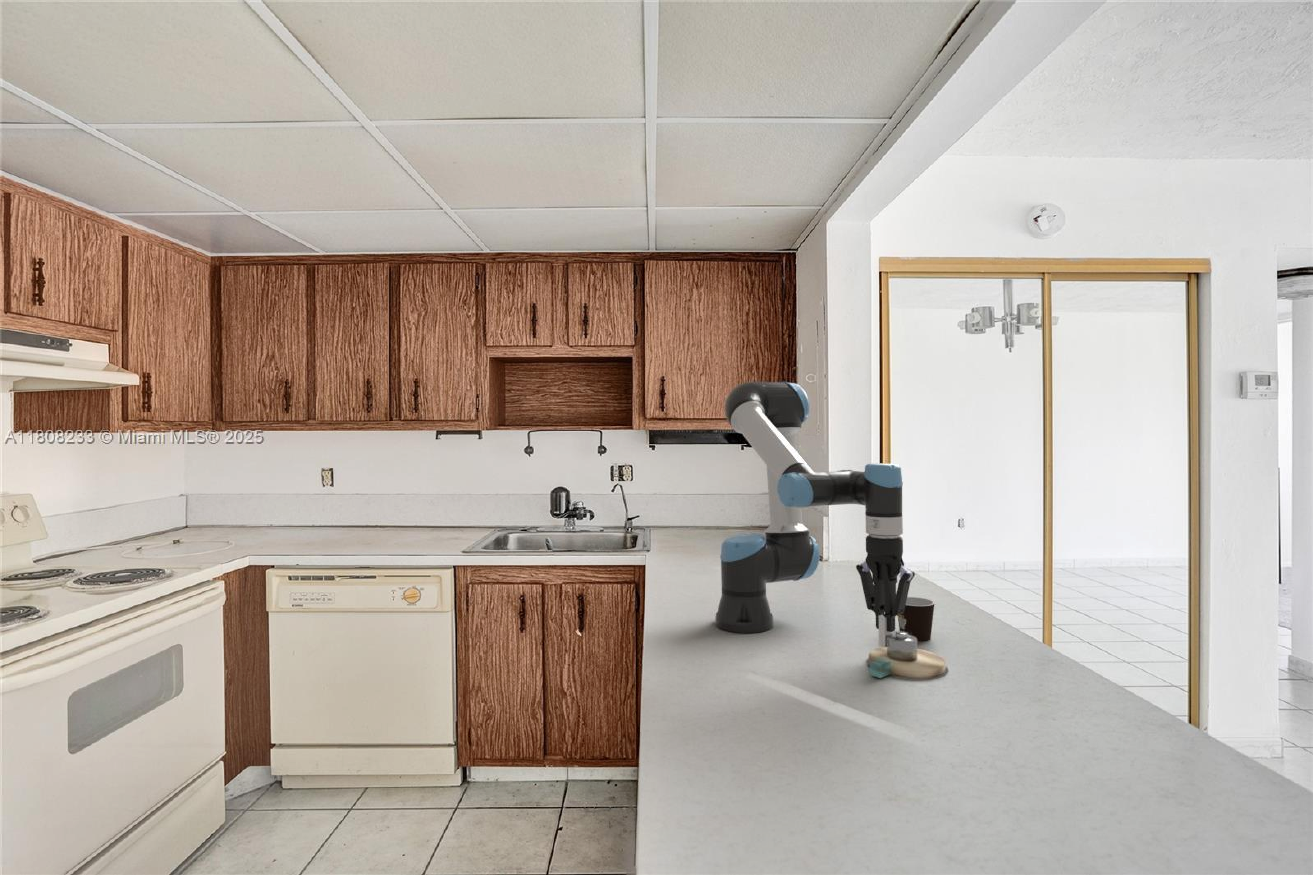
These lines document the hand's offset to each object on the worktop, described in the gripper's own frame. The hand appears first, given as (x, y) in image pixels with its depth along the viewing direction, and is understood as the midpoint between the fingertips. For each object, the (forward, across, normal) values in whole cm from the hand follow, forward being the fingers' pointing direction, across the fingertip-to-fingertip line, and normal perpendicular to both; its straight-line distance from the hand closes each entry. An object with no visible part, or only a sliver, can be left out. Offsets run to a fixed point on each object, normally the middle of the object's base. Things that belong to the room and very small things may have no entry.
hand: (885, 645), depth 140 cm
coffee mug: (+5, -5, +20) cm, 21 cm away
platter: (+3, +5, -2) cm, 6 cm away
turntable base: (+5, +5, 0) cm, 7 cm away
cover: (+2, +4, 0) cm, 4 cm away
